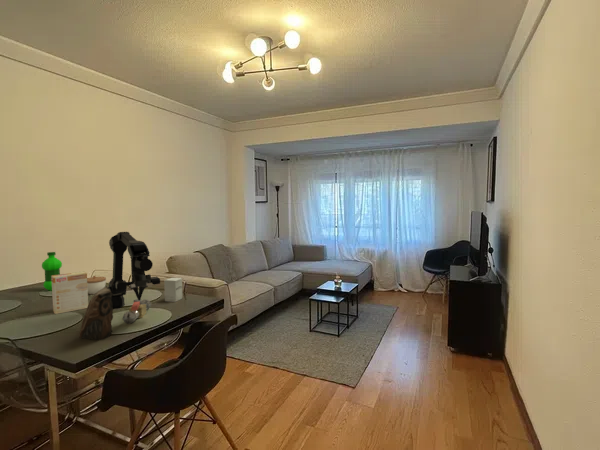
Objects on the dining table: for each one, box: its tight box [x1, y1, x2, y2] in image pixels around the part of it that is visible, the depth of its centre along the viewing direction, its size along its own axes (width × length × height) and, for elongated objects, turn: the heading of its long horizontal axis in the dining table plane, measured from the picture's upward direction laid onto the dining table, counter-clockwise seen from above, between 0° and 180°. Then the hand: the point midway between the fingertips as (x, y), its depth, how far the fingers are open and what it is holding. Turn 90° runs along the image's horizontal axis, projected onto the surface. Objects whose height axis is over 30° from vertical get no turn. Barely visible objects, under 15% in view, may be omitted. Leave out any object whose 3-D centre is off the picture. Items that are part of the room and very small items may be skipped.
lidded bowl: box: [87, 275, 107, 295], centre depth 207 cm, size 13×13×11 cm
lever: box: [130, 298, 142, 311], centre depth 159 cm, size 12×4×2 cm, turn 19°
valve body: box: [122, 298, 152, 325], centre depth 164 cm, size 6×21×6 cm, turn 6°
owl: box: [79, 285, 114, 341], centre depth 139 cm, size 13×13×20 cm
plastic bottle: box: [41, 251, 63, 292], centre depth 214 cm, size 10×10×25 cm
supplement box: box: [163, 277, 183, 303], centre depth 191 cm, size 7×7×13 cm
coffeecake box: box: [51, 271, 89, 315], centre depth 173 cm, size 15×7×20 cm, turn 135°
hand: (139, 300), depth 156 cm, fingers closed
